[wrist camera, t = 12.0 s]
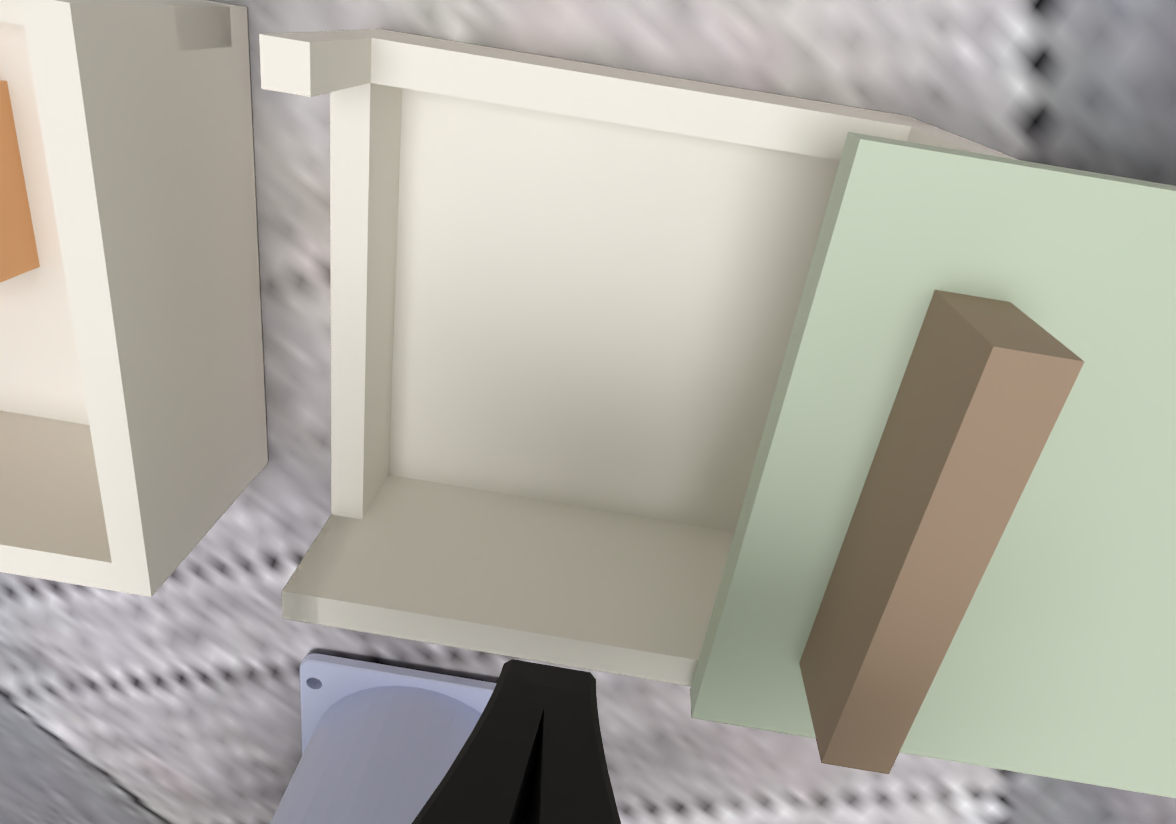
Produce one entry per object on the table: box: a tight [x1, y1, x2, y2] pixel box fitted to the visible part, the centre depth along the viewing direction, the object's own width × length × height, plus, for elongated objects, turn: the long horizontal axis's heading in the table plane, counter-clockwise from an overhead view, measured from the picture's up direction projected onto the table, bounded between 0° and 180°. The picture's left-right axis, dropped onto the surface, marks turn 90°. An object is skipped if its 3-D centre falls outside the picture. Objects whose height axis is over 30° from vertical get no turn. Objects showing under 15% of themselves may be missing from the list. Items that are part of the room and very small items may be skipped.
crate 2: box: [259, 29, 1018, 686], centre depth 18 cm, size 12×12×6 cm
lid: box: [690, 132, 1176, 798], centre depth 13 cm, size 12×12×3 cm
